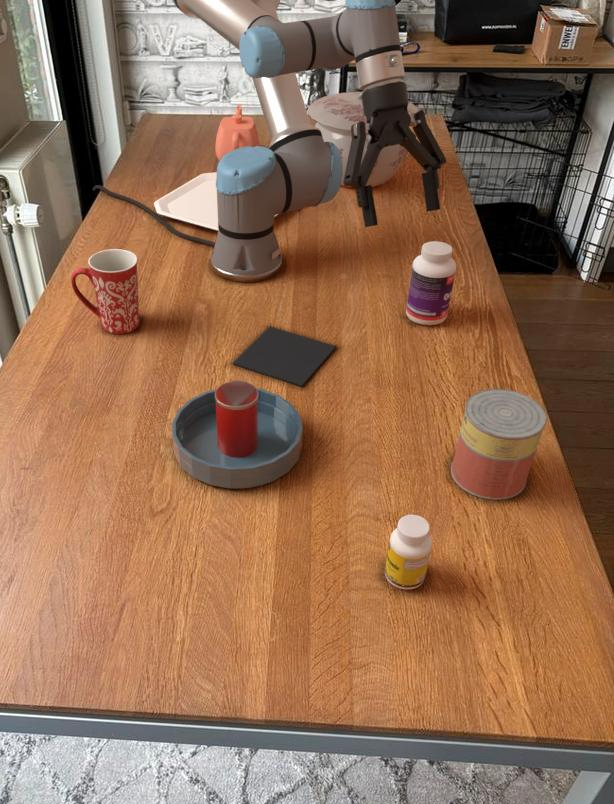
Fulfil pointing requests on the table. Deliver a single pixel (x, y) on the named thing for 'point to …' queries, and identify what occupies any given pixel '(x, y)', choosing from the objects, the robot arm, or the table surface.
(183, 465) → the dish
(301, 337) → the mat
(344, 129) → the chamber pot
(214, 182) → the plate
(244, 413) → the tin can
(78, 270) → the mug
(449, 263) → the pill bottle
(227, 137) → the teapot
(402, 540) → the supplement bottle
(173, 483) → the table surface
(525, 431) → the canned food
